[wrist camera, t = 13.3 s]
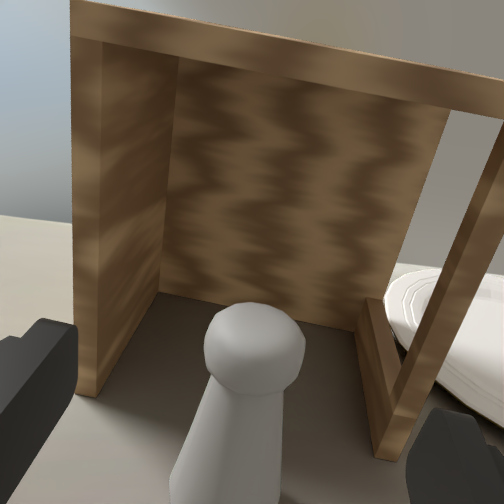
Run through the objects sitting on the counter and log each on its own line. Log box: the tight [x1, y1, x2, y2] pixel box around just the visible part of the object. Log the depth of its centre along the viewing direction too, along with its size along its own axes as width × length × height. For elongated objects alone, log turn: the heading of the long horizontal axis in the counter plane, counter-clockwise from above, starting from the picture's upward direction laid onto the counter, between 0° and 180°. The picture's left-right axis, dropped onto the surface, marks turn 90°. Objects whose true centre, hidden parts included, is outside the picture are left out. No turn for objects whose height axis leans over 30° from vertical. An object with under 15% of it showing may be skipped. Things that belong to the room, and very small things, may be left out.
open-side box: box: [70, 0, 504, 462], centre depth 31 cm, size 22×16×24 cm
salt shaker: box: [169, 302, 306, 504], centre depth 21 cm, size 6×6×13 cm
